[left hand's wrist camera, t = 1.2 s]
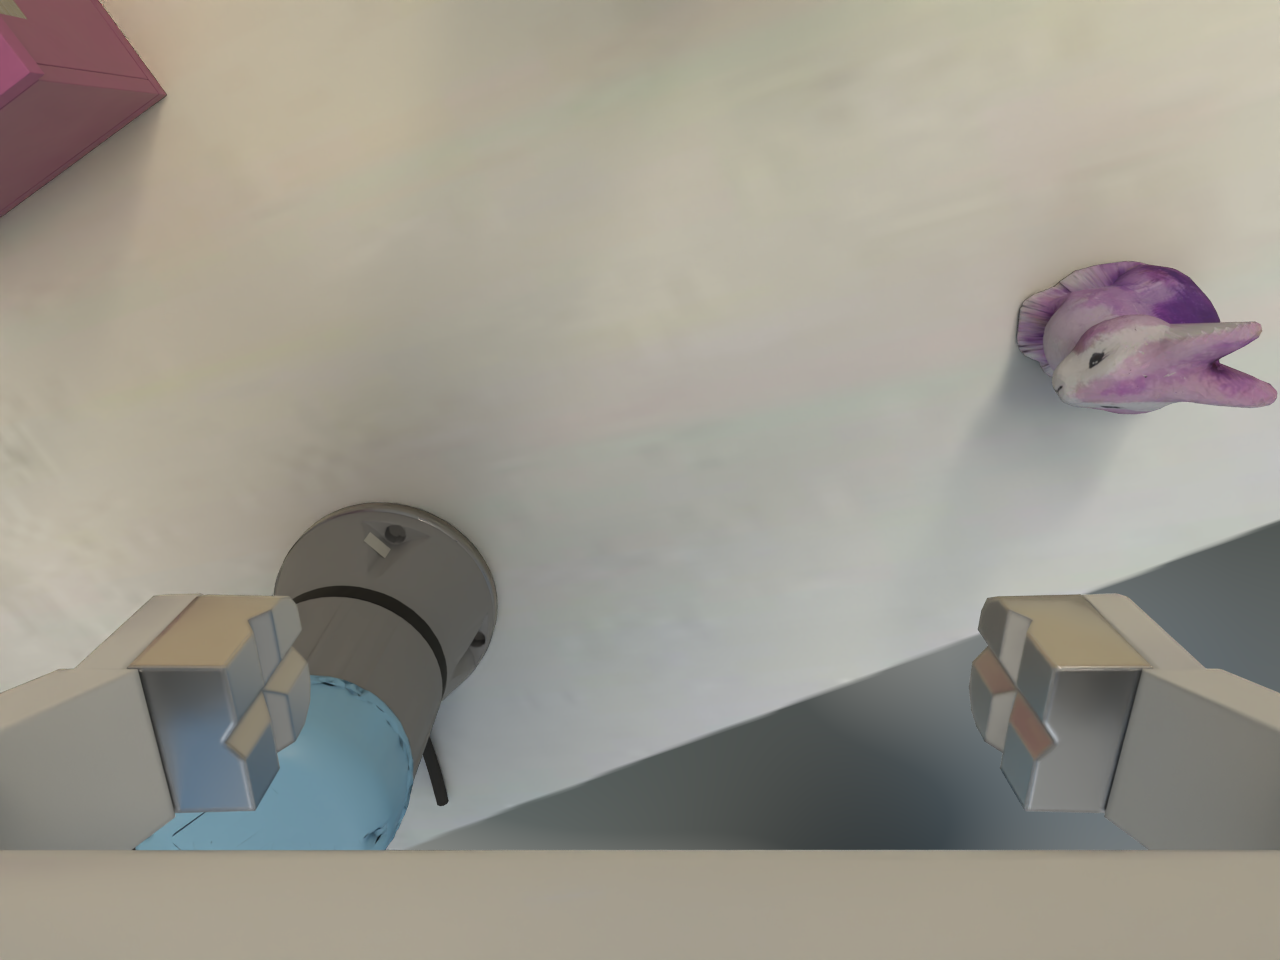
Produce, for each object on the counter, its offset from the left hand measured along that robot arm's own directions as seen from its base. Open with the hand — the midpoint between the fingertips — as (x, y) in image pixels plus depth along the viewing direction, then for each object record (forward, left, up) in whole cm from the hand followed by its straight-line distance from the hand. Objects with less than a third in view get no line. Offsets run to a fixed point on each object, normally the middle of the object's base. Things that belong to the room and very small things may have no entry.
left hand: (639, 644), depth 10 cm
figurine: (+7, +28, -45) cm, 53 cm away
